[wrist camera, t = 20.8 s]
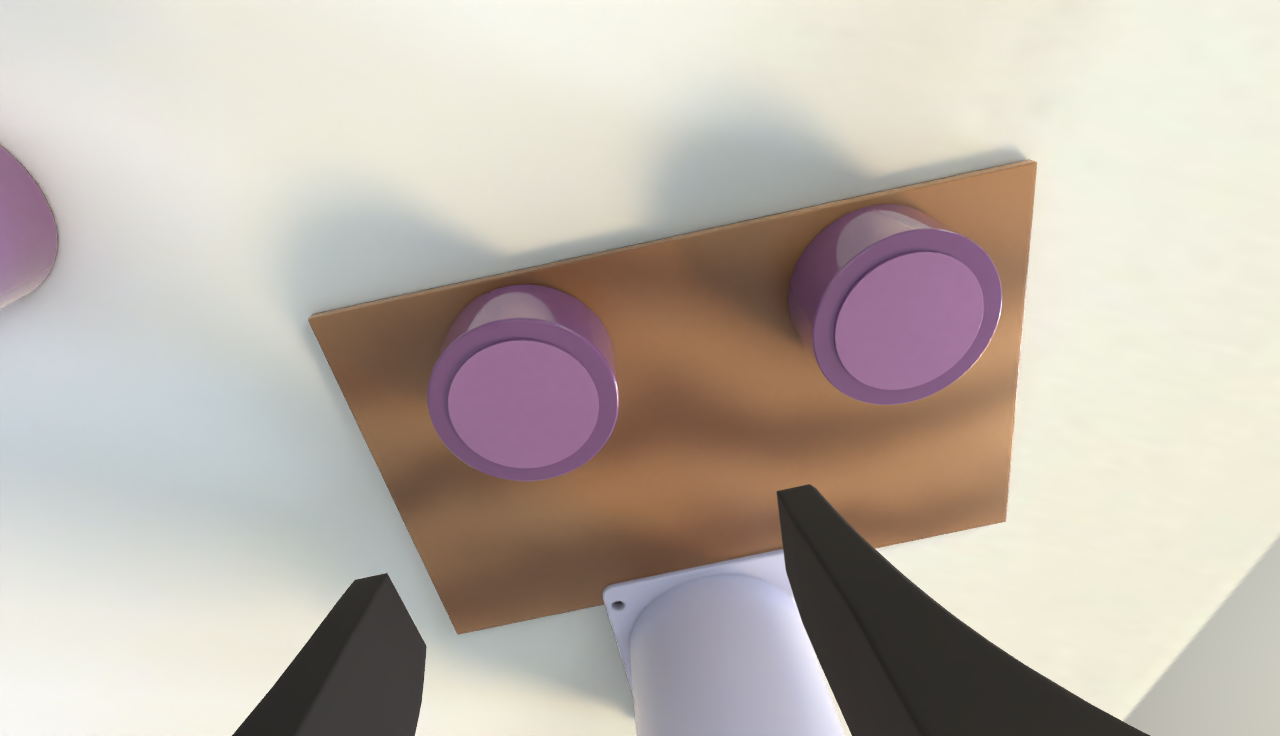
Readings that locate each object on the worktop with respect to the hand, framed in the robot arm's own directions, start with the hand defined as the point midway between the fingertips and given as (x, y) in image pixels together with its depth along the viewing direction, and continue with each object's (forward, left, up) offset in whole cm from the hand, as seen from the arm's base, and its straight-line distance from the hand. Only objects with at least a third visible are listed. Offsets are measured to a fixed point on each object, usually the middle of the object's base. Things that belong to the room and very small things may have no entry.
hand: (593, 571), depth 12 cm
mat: (-5, -3, -10) cm, 12 cm away
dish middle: (-1, +2, -10) cm, 10 cm away
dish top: (0, -9, -10) cm, 14 cm away
